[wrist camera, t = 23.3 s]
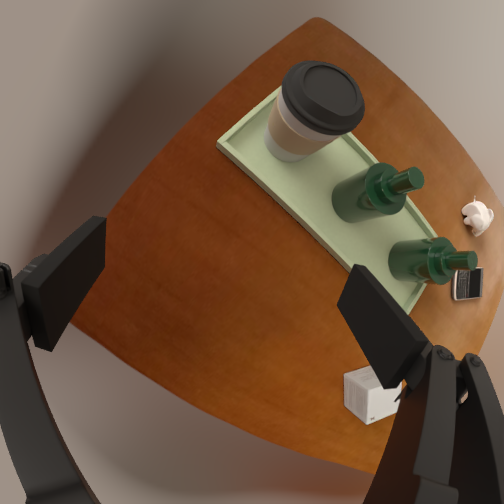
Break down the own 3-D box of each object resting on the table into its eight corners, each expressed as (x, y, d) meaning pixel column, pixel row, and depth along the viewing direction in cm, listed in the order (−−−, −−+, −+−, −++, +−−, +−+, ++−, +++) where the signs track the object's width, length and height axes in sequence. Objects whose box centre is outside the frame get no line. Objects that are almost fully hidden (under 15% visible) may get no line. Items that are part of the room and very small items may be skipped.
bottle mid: (322, 200, 39) (383, 173, 25) (347, 171, 40) (409, 137, 26) (353, 232, 40) (422, 221, 26) (375, 202, 41) (443, 181, 27)
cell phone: (450, 266, 45) (456, 266, 43) (480, 267, 47) (484, 267, 46) (448, 300, 45) (454, 300, 43) (478, 296, 47) (483, 297, 45)
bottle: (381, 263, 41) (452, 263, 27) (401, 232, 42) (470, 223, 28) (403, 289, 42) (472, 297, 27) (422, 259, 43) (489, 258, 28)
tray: (215, 146, 37) (216, 140, 35) (286, 85, 40) (290, 78, 37) (394, 321, 42) (402, 323, 40) (438, 249, 44) (446, 248, 42)
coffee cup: (271, 102, 38) (307, 38, 24) (325, 131, 40) (380, 82, 25) (245, 150, 37) (273, 93, 23) (304, 181, 39) (361, 143, 24)
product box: (374, 395, 41) (399, 412, 34) (342, 405, 40) (365, 426, 33) (375, 362, 41) (403, 377, 34) (343, 372, 40) (368, 390, 33)
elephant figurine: (462, 241, 46) (484, 240, 40) (453, 201, 45) (475, 196, 40) (478, 233, 47) (499, 231, 41) (469, 195, 47) (490, 191, 41)
